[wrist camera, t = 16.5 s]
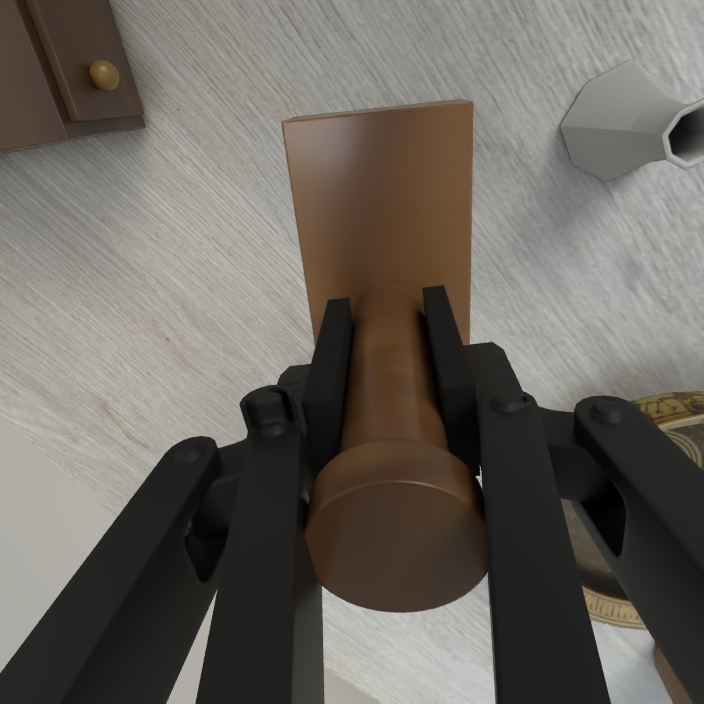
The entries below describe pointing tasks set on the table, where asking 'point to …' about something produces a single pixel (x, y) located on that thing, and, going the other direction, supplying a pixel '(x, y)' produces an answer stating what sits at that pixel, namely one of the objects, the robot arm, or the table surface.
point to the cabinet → (62, 74)
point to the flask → (632, 124)
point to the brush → (390, 348)
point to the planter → (671, 680)
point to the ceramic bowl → (596, 577)
